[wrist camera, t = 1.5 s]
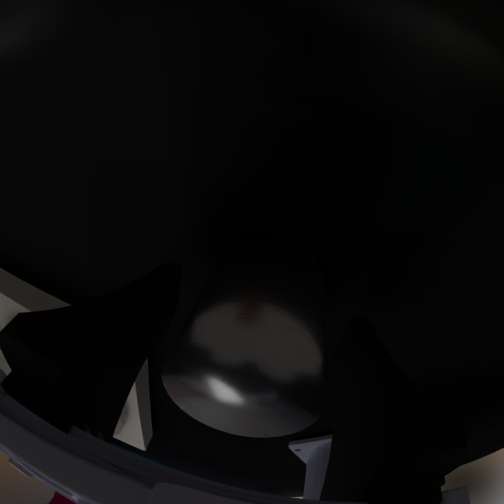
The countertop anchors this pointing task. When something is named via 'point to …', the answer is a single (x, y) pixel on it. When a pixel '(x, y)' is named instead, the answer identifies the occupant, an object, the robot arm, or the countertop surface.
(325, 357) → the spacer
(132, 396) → the scale
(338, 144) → the countertop surface
